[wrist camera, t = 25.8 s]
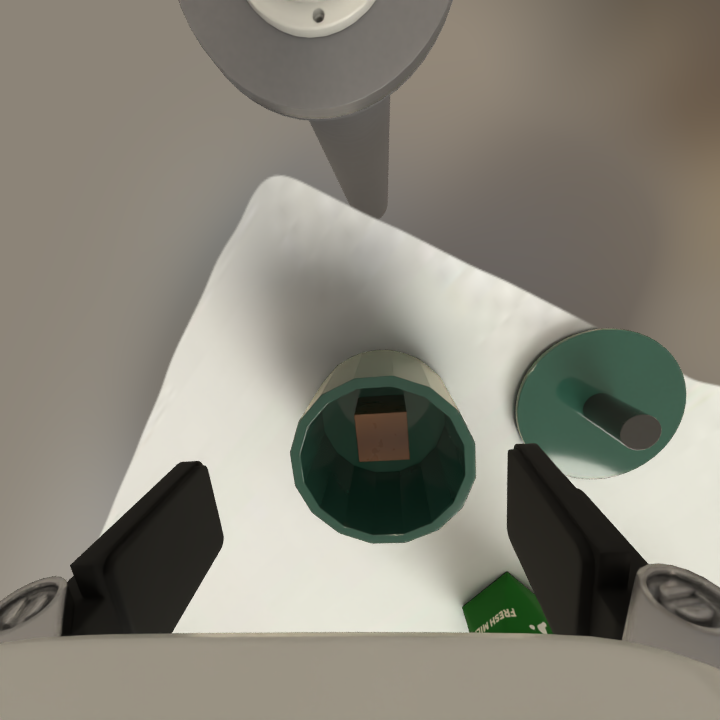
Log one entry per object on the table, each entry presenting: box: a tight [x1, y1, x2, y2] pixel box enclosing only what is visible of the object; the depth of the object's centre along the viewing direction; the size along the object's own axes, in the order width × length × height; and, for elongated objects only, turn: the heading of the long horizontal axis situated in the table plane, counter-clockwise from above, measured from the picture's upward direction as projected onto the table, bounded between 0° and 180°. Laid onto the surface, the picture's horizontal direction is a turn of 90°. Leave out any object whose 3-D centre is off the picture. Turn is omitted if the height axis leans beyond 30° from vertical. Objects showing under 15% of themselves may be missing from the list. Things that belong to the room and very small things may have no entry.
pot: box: [290, 350, 476, 544], centre depth 30 cm, size 14×14×10 cm
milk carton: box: [462, 572, 553, 634], centre depth 29 cm, size 9×9×20 cm
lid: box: [515, 328, 686, 479], centre depth 29 cm, size 15×15×6 cm
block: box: [354, 395, 410, 462], centre depth 32 cm, size 4×4×4 cm
